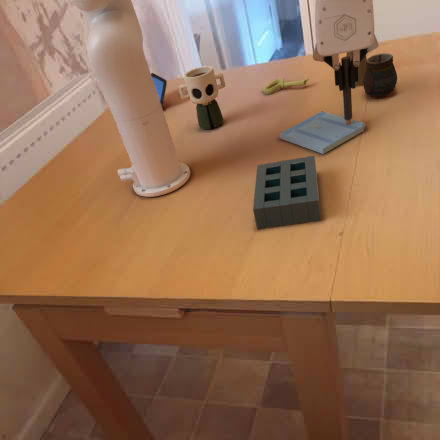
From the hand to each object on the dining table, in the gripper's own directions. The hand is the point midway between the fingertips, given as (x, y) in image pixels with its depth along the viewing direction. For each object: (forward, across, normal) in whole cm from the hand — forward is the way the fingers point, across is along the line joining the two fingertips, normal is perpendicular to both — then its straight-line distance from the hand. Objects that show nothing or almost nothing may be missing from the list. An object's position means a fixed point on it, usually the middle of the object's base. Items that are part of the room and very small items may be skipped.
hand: (346, 86), depth 92 cm
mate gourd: (+9, +8, +15) cm, 19 cm away
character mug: (+9, -32, +16) cm, 37 cm away
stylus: (+8, 0, 0) cm, 8 cm away
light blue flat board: (+9, -6, 0) cm, 11 cm away
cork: (+9, +4, +26) cm, 28 cm away
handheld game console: (+10, -53, +37) cm, 65 cm away
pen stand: (+9, -13, -24) cm, 29 cm away
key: (+9, -14, +31) cm, 35 cm away
